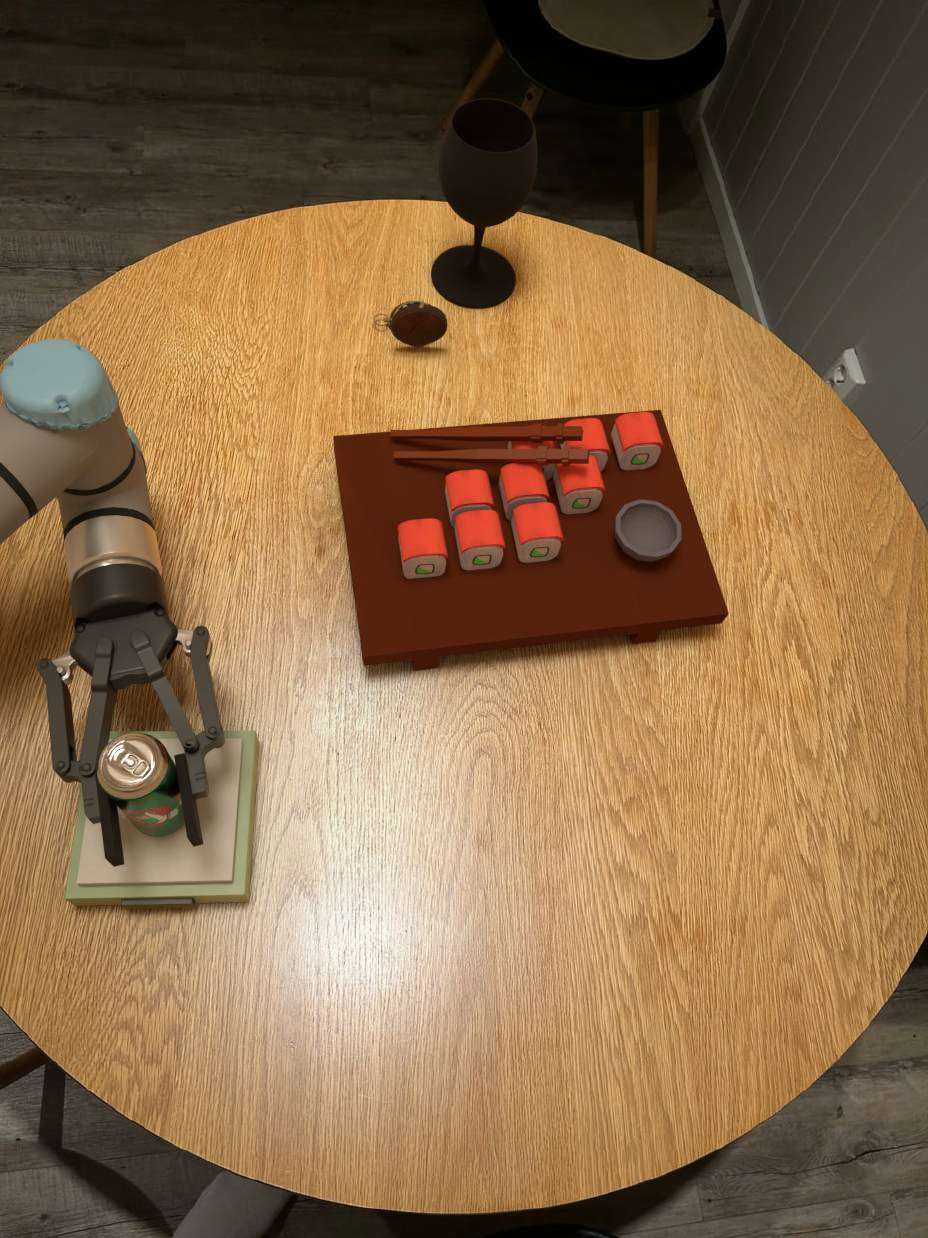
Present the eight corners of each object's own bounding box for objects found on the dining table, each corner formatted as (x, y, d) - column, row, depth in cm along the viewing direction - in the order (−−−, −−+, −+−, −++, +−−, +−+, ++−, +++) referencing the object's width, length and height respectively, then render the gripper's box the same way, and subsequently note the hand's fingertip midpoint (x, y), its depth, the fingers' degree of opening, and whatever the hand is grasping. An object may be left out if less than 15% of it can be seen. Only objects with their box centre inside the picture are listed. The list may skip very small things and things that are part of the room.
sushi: (334, 462, 99) (330, 385, 88) (649, 436, 104) (681, 360, 94) (363, 677, 88) (363, 618, 77) (713, 634, 94) (757, 574, 83)
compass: (440, 305, 111) (444, 256, 104) (444, 357, 107) (449, 309, 101) (372, 304, 110) (372, 255, 103) (374, 356, 106) (374, 308, 100)
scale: (73, 912, 76) (60, 903, 73) (98, 743, 83) (86, 727, 79) (248, 908, 78) (243, 899, 74) (259, 742, 84) (254, 727, 81)
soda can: (158, 767, 78) (125, 714, 68) (206, 798, 78) (181, 751, 67) (117, 817, 76) (77, 771, 66) (167, 850, 75) (134, 809, 65)
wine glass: (412, 270, 113) (421, 116, 95) (476, 234, 117) (495, 79, 99) (470, 322, 110) (490, 172, 92) (533, 283, 114) (564, 133, 96)
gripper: (231, 583, 84) (282, 833, 74) (18, 626, 80) (42, 894, 70) (219, 538, 77) (273, 806, 67) (-14, 582, 74) (8, 872, 64)
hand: (155, 850), depth 69 cm, fingers closed on soda can, 5 cm apart
